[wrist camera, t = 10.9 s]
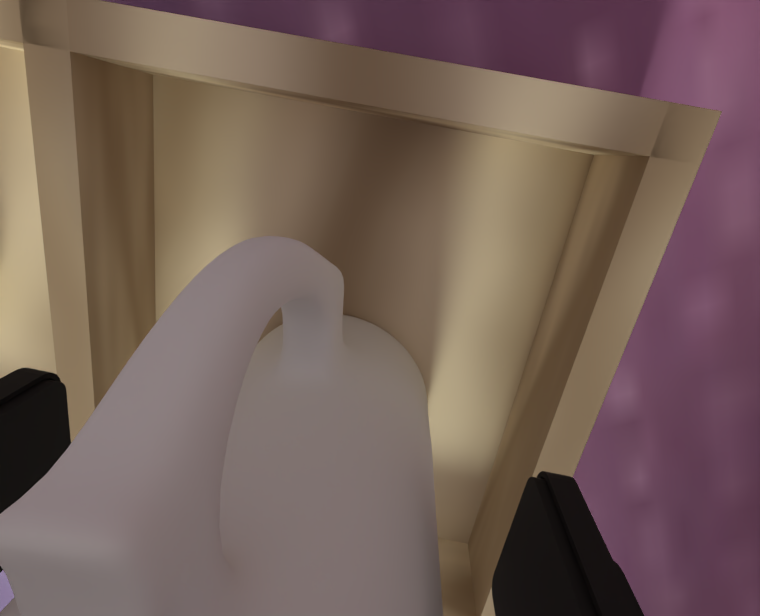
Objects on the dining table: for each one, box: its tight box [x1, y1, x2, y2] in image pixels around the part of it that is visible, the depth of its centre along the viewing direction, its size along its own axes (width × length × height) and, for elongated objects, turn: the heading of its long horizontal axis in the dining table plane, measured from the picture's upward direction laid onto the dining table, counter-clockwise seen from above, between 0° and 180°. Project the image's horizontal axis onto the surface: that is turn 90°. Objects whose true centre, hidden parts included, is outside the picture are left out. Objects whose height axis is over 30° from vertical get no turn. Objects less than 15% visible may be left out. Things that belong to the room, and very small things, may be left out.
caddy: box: [0, 0, 722, 616], centre depth 13 cm, size 27×16×4 cm, turn 81°
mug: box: [0, 236, 443, 616], centre depth 9 cm, size 10×7×12 cm, turn 175°
